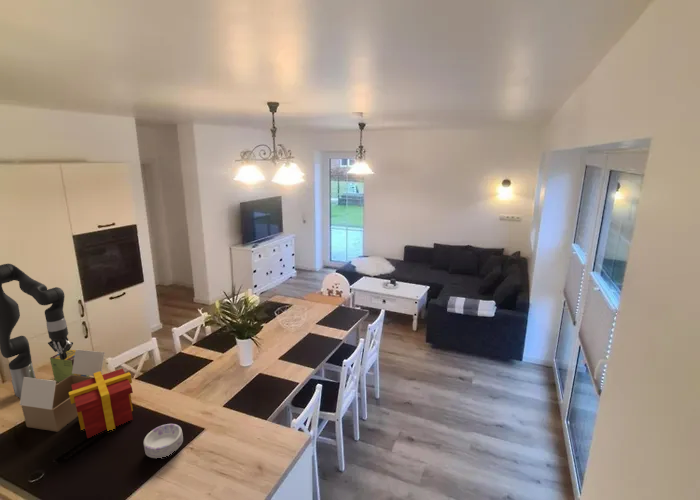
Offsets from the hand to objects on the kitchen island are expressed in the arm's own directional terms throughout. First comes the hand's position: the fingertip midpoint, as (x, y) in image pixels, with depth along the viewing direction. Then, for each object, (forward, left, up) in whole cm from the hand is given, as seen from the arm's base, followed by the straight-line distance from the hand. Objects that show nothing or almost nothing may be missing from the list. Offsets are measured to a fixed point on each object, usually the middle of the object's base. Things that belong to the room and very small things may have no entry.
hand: (63, 359), depth 184 cm
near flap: (0, -15, -9) cm, 17 cm away
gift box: (+25, -5, -28) cm, 38 cm away
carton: (0, -4, -28) cm, 28 cm away
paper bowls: (+67, -18, -28) cm, 75 cm away
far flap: (0, +12, -9) cm, 15 cm away
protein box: (-24, +22, -28) cm, 43 cm away
